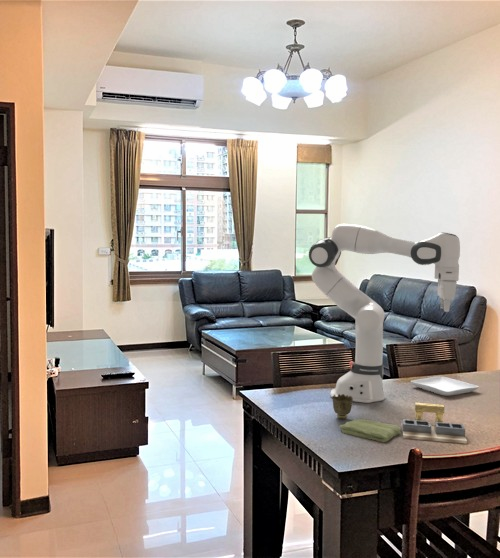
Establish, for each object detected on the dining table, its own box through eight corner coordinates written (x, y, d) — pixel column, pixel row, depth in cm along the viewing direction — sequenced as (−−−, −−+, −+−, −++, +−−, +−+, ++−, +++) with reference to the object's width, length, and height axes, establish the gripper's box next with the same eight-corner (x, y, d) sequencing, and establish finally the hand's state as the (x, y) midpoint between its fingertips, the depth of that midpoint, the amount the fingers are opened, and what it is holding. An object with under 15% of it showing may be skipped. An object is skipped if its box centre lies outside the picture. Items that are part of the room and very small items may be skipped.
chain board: (403, 438, 188) (403, 435, 188) (401, 425, 201) (401, 422, 201) (466, 443, 184) (466, 440, 184) (460, 430, 197) (460, 427, 197)
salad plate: (440, 382, 264) (441, 375, 264) (480, 393, 246) (480, 385, 246) (408, 387, 253) (409, 380, 253) (447, 399, 235) (447, 391, 235)
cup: (339, 422, 203) (340, 400, 202) (327, 416, 209) (328, 395, 209) (356, 419, 206) (357, 398, 206) (344, 414, 213) (344, 393, 212)
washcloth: (355, 423, 204) (355, 414, 203) (402, 434, 193) (402, 425, 193) (337, 433, 193) (337, 423, 193) (385, 445, 182) (386, 435, 182)
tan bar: (414, 422, 205) (415, 404, 204) (414, 419, 208) (414, 402, 207) (443, 424, 203) (444, 407, 202) (442, 422, 206) (443, 404, 205)
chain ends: (402, 431, 192) (403, 424, 192) (401, 426, 197) (402, 419, 197) (465, 436, 188) (465, 429, 188) (462, 431, 193) (462, 424, 193)
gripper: (434, 272, 229) (433, 306, 230) (441, 275, 209) (439, 313, 210) (451, 273, 228) (449, 307, 229) (459, 276, 208) (457, 313, 209)
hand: (444, 310), depth 219 cm, fingers open, 8 cm apart
